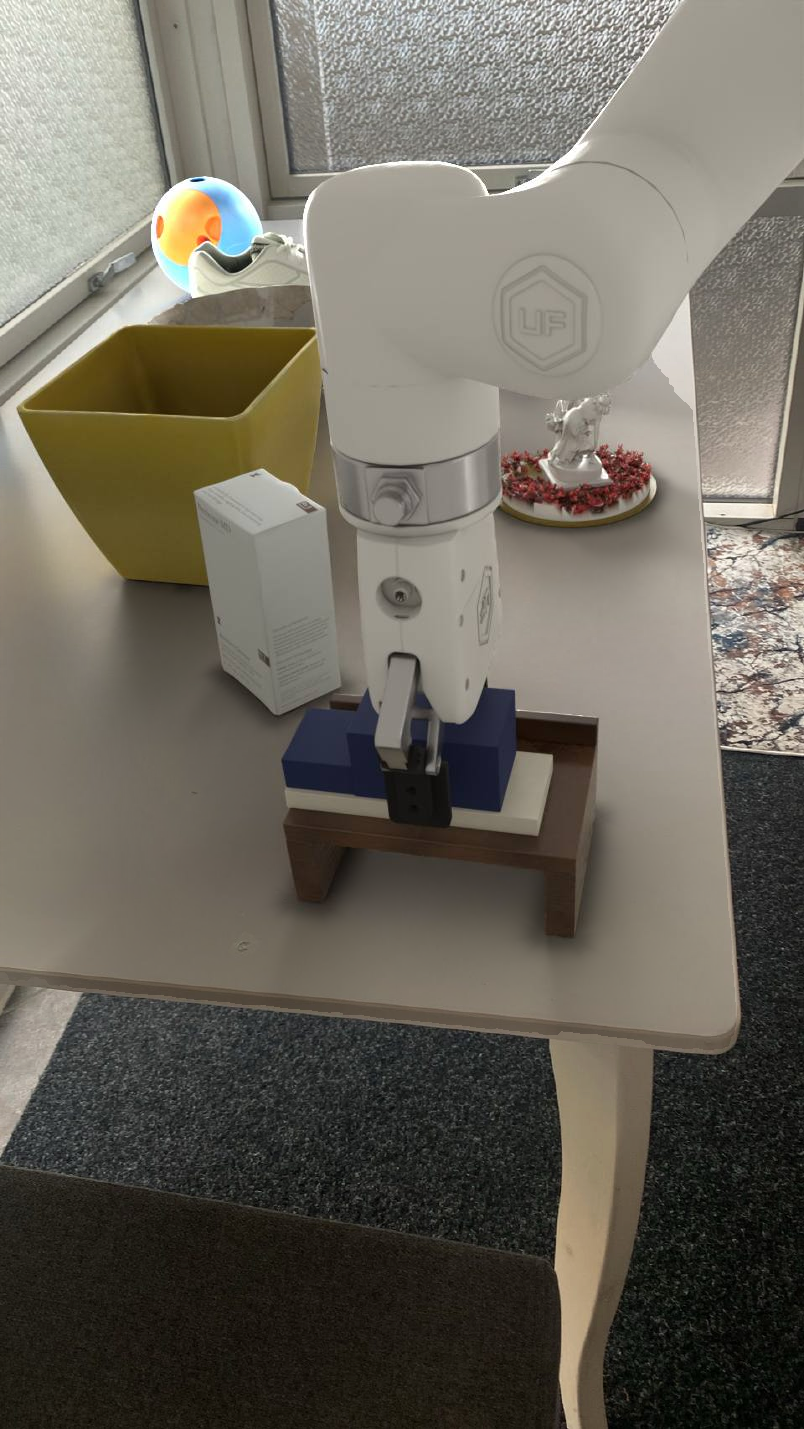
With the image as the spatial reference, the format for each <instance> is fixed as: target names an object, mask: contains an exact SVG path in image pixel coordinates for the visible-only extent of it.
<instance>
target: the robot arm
mask: <svg viewBox="0 0 804 1429" xmlns="http://www.w3.org/2000/svg"><path fill="white" fill-rule="evenodd" d="M803 160H804V0H680V2H679V4H678V5H677V6H676V8H675V9H674V11H673V12H672V14H671V15H670V16H669V18H668V19H667V21H666V22H665V23H664V25H663V27H662V28H661V30H660V31H659V32H658V34H657V35H656V36H655V37H654V39H653V41H652V42H651V43H650V45H649V46H648V47H647V49H646V51H645V52H644V53H643V54H642V56H641V57H640V58H639V60H638V61H637V62H636V64H635V65H634V67H633V68H632V70H631V71H630V72H629V73H628V75H627V77H626V78H625V79H624V81H623V82H622V83H621V85H620V86H619V87H618V88H617V90H616V91H615V93H614V94H613V95H612V97H610V99H609V101H607V104H606V105H605V107H603V109H602V110H601V112H600V113H599V114H598V116H597V117H596V118H595V119H594V121H593V122H592V123H591V125H590V126H589V127H588V128H587V130H586V131H585V132H584V133H583V135H582V136H581V138H580V139H579V140H578V142H576V144H575V145H574V146H573V147H572V149H571V150H570V151H569V152H568V153H566V154H565V155H564V156H562V157H561V158H560V159H559V160H557V161H556V162H555V163H554V164H553V165H551V166H550V167H549V168H547V169H546V170H545V171H543V172H542V173H541V174H539V176H537V177H536V178H534V179H532V180H530V181H528V182H525V183H523V184H521V185H518V186H516V187H514V188H512V189H510V190H507V191H504V192H501V193H495V194H489V193H488V192H489V191H488V190H487V188H486V185H485V184H484V183H483V182H482V180H481V179H480V178H479V176H478V175H477V174H475V173H473V172H472V171H471V170H469V169H468V168H466V167H463V166H460V165H456V164H452V163H448V162H443V161H429V160H426V161H425V160H414V161H413V160H411V161H410V160H409V161H396V162H394V161H393V162H387V163H386V162H385V163H380V164H379V163H378V164H373V165H367V166H361V167H358V168H357V167H356V168H352V169H350V170H346V171H344V172H340V173H338V174H336V175H334V176H332V177H329V178H328V179H326V180H324V181H322V182H321V183H320V184H319V185H318V186H317V187H316V188H315V189H313V191H312V192H311V194H310V195H309V197H308V200H307V201H306V204H305V208H304V212H303V218H302V220H303V221H302V226H303V237H304V238H303V239H304V249H305V250H306V257H307V265H308V273H309V280H310V288H311V296H312V303H313V311H314V319H315V326H316V334H317V342H318V349H319V357H320V365H321V372H322V379H323V393H324V401H325V408H326V415H327V422H328V430H329V431H328V432H329V437H330V438H329V439H330V447H331V455H332V462H333V470H334V479H335V487H336V493H337V500H338V508H339V513H340V514H341V516H342V518H343V519H344V520H345V521H346V522H348V523H349V524H350V525H352V526H353V527H354V528H356V545H357V546H356V547H357V548H356V549H357V551H356V553H357V554H356V555H357V576H358V577H357V578H358V595H359V596H358V597H359V598H358V599H359V611H360V612H359V613H360V626H361V637H362V638H361V640H362V648H363V659H364V668H365V674H366V681H367V682H366V683H367V687H368V688H369V693H370V698H371V702H372V705H373V708H374V709H375V711H376V712H377V713H378V714H379V718H378V723H377V728H376V733H375V747H376V749H377V751H378V758H379V760H378V761H380V766H381V770H382V771H383V773H384V781H385V789H386V797H387V805H388V813H389V818H390V820H391V821H392V822H395V823H400V824H409V825H418V826H427V827H436V828H448V827H449V826H450V823H451V820H452V806H451V793H450V781H449V768H448V762H445V761H441V756H442V745H443V734H444V723H445V722H451V723H456V724H462V723H464V722H465V721H467V720H468V719H469V718H470V717H471V715H472V714H473V713H474V711H475V709H476V706H477V704H478V701H479V698H480V695H481V692H482V689H483V687H487V688H489V685H488V683H489V681H488V675H489V671H490V668H491V665H492V662H493V659H494V655H495V653H496V649H497V646H498V642H499V639H500V635H501V630H502V625H503V624H502V623H503V615H502V614H503V611H502V597H501V585H500V574H499V562H498V550H497V538H496V527H495V520H494V519H495V518H494V511H496V509H497V508H498V507H499V504H500V501H501V499H502V476H501V473H502V467H501V462H502V453H501V452H502V450H501V417H500V416H501V415H500V389H502V390H505V391H508V392H509V391H510V392H513V393H516V394H521V395H523V396H524V395H525V396H528V397H529V396H530V397H535V398H540V399H545V400H554V401H559V400H579V399H586V398H590V397H594V396H597V395H600V394H602V395H603V394H606V393H609V392H611V391H612V390H614V389H616V388H617V387H619V386H621V385H622V384H623V383H626V381H628V380H629V379H631V378H632V377H633V376H634V375H635V374H636V373H637V372H638V371H639V370H640V369H641V367H642V366H643V365H645V363H646V362H647V361H648V359H649V358H650V357H651V355H652V353H653V352H654V350H655V349H656V347H657V346H658V344H659V342H660V341H661V339H662V337H663V336H664V334H665V332H666V331H667V330H668V328H669V326H670V325H671V323H672V322H673V320H674V318H675V315H676V314H677V312H678V310H679V308H680V307H681V305H682V304H683V302H684V301H685V299H686V297H687V295H688V294H689V293H690V291H691V290H692V289H693V287H694V285H695V284H696V283H697V281H698V279H700V277H701V276H702V275H703V273H704V272H705V270H707V268H708V267H709V266H710V265H711V264H712V262H713V261H714V260H715V258H716V257H717V256H718V255H719V254H720V253H721V252H722V251H723V249H724V248H725V247H726V245H728V244H729V242H730V241H731V240H732V239H733V238H734V237H735V235H736V234H737V233H739V231H740V230H741V229H742V228H743V226H745V224H746V223H747V222H748V221H749V220H750V219H751V218H752V217H753V215H755V213H756V212H757V211H758V210H759V209H760V208H761V207H762V205H764V203H765V202H766V201H767V200H768V199H769V198H770V196H771V195H772V194H773V193H774V192H775V190H776V189H777V188H778V187H779V186H780V185H781V184H782V183H783V182H784V181H785V179H787V177H789V175H790V174H791V173H792V172H793V171H794V170H795V169H796V167H798V166H799V164H800V163H801V162H802V161H803ZM417 693H419V694H425V695H426V697H427V699H428V700H429V702H430V704H431V706H432V707H433V708H425V707H414V704H415V699H416V694H417ZM411 720H422V721H429V727H428V737H427V748H426V749H425V748H423V747H421V746H419V745H412V744H411V742H412V738H411V735H410V726H411Z"/></svg>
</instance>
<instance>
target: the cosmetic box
mask: <svg viewBox="0 0 804 1429" xmlns="http://www.w3.org/2000/svg"><path fill="white" fill-rule="evenodd" d="M193 493H194V496H195V502H196V508H197V514H198V520H199V526H200V532H201V538H202V544H203V550H204V557H205V563H206V569H207V576H208V582H209V586H208V588H209V594H210V600H211V606H212V611H213V612H212V613H213V616H214V617H213V618H214V623H215V631H216V636H217V643H218V650H219V656H220V661H221V666H222V669H223V671H224V672H226V673H227V674H229V675H230V676H232V677H233V678H235V679H236V680H237V681H238V682H239V683H241V684H242V685H243V686H244V687H245V688H246V689H247V690H249V691H250V692H251V693H252V695H254V696H255V697H256V698H257V699H258V700H260V701H261V702H262V703H263V704H264V706H266V708H268V709H269V711H270V712H271V713H272V714H273V715H275V716H281V715H283V714H285V713H288V712H290V711H292V710H295V709H296V708H299V707H300V706H302V705H304V704H307V703H309V702H311V701H314V700H316V699H318V698H320V697H322V696H324V695H326V694H329V693H331V692H333V691H335V690H337V689H340V688H341V687H342V685H343V684H342V678H341V669H340V668H341V667H340V655H339V645H338V634H337V624H336V613H335V612H336V611H335V601H334V590H333V588H334V587H333V580H332V579H333V578H332V566H331V555H330V554H331V553H330V543H329V532H328V522H327V520H328V519H327V511H326V510H327V509H326V508H325V507H323V506H322V505H320V504H319V503H316V502H315V501H314V500H312V499H310V498H308V497H307V496H306V497H305V496H304V495H302V494H301V493H300V492H299V491H298V489H297V488H296V487H295V486H293V485H291V484H289V483H286V482H282V481H280V480H279V479H277V478H276V477H274V476H273V475H271V474H270V473H268V472H267V471H265V470H264V469H258V470H255V471H252V472H249V473H246V474H243V475H240V476H237V477H234V478H232V479H229V480H226V481H223V482H220V483H217V484H214V485H210V486H207V487H204V488H201V489H198V490H196V491H194V492H193Z"/></svg>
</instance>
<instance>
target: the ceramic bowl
mask: <svg viewBox="0 0 804 1429" xmlns="http://www.w3.org/2000/svg"><path fill="white" fill-rule="evenodd" d="M146 325H198V326H251V327H296V328H316V326H315V319H314V311H313V303H312V296H311V288H310V286H309V285H274V286H265V287H257V288H252V287H249V288H243V289H236V290H231V291H226V292H221V293H217V294H211V295H204V296H201V297H195V298H192V297H191V298H188V299H186V300H183V301H182V302H181V303H180V302H179V303H176V304H175V305H173V306H171V307H169V308H167V309H165V310H163V311H161V312H159V313H157V314H155V315H154V316H153V317H151V319H149V321H147V324H146ZM323 389H324V387H323V379H322V378H321V390H323Z"/></svg>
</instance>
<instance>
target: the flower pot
mask: <svg viewBox="0 0 804 1429" xmlns="http://www.w3.org/2000/svg"><path fill="white" fill-rule="evenodd" d="M321 378H322V372H321V365H320V357H319V349H318V342H317V334H316V328H296V327H251V326H198V325H147V324H141V323H140V324H128V325H123V326H121V327H119V328H118V329H116V330H115V331H113V332H112V333H111V334H109V335H108V336H107V337H105V339H103V340H102V341H100V342H99V343H98V344H97V345H95V346H94V347H92V348H91V349H90V350H88V351H87V352H85V354H83V355H82V356H80V357H79V358H77V359H76V360H75V361H74V362H72V363H71V364H70V365H69V366H66V368H65V369H64V370H62V371H61V372H59V373H58V374H56V375H55V376H54V377H52V378H51V379H50V380H49V381H48V382H46V383H45V384H44V385H43V386H41V387H40V388H38V389H37V390H36V391H35V392H33V393H32V394H31V395H29V396H28V397H27V398H25V399H24V400H22V402H19V404H18V405H17V406H16V412H17V414H18V417H19V419H20V421H21V423H22V426H23V427H24V430H25V432H26V433H27V435H28V437H29V439H30V442H31V444H32V445H33V447H34V450H35V451H36V453H37V455H38V457H39V459H40V461H41V462H42V464H43V466H44V468H45V469H46V471H47V473H48V475H49V477H50V478H51V480H52V482H53V483H54V485H55V487H56V489H57V490H58V492H59V493H60V495H61V497H62V498H63V500H64V501H65V503H66V505H67V506H68V507H69V509H70V511H71V512H72V514H73V515H74V517H75V519H76V520H77V521H78V522H79V524H80V525H81V526H82V528H83V529H84V531H85V532H86V534H87V535H88V536H89V538H90V539H91V541H92V542H93V543H94V544H95V546H96V547H97V548H98V550H99V551H100V552H101V554H102V555H103V556H104V557H105V559H106V560H107V561H108V563H109V564H110V565H111V566H112V567H113V568H114V569H115V570H116V572H117V573H118V575H119V576H121V577H122V578H124V579H126V580H127V579H128V580H139V581H150V582H158V583H159V582H161V583H170V584H171V583H172V584H182V585H183V584H185V585H197V586H207V587H209V582H208V576H207V569H206V563H205V557H204V550H203V544H202V538H201V532H200V526H199V520H198V514H197V508H196V502H195V496H194V493H193V492H194V491H196V490H198V489H201V488H204V487H207V486H210V485H214V484H217V483H220V482H223V481H226V480H229V479H232V478H234V477H237V476H240V475H243V474H246V473H249V472H252V471H255V470H258V469H264V470H265V471H267V472H268V473H270V474H271V475H273V476H274V477H276V478H277V479H279V480H280V481H282V482H286V483H289V484H291V485H293V486H295V487H296V488H297V489H298V491H299V492H300V493H301V494H302V495H304V496H305V497H307V495H308V490H309V485H310V480H311V474H312V469H313V463H314V457H315V451H316V444H317V435H318V427H319V417H320V409H321V408H320V407H321V394H322V389H321Z"/></svg>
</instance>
